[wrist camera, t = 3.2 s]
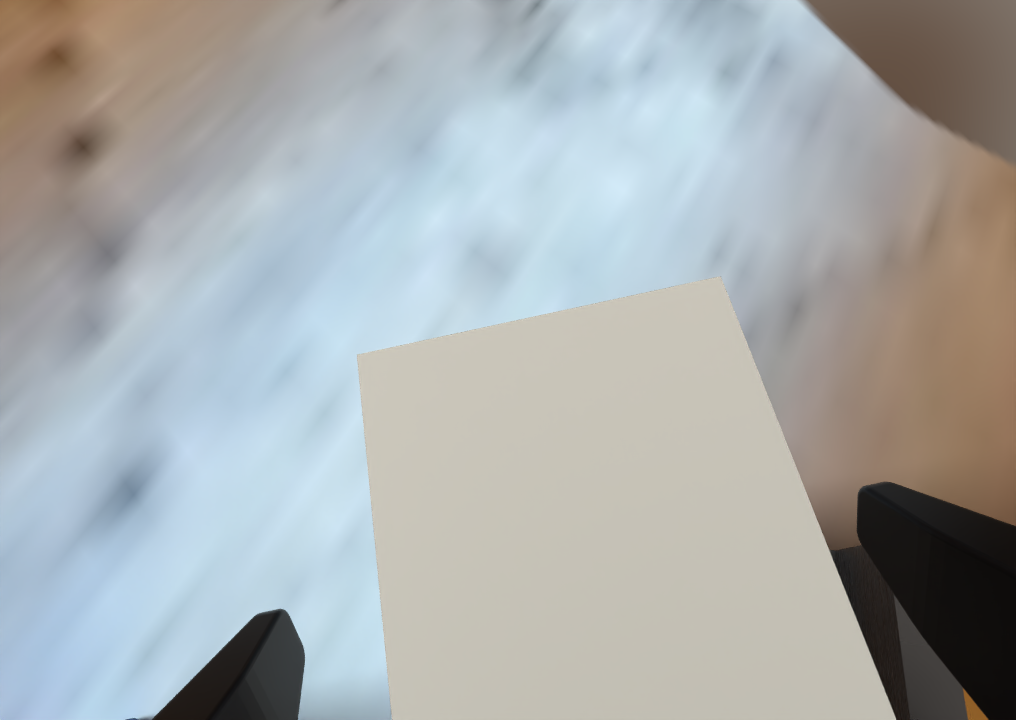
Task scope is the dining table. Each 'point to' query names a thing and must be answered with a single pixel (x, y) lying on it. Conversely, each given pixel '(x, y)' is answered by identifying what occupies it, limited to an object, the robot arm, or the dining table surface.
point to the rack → (900, 647)
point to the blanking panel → (601, 526)
